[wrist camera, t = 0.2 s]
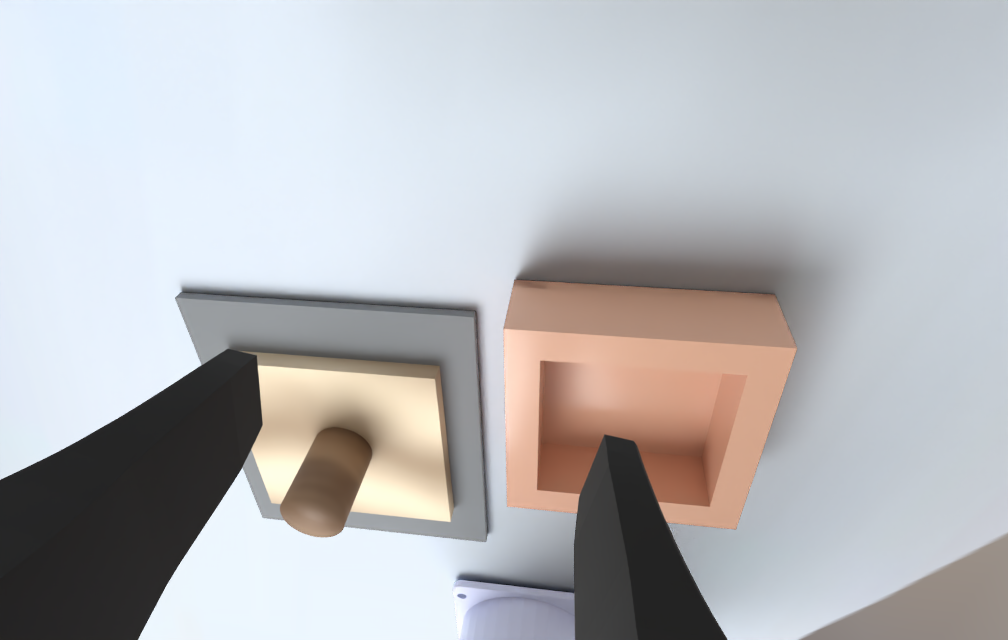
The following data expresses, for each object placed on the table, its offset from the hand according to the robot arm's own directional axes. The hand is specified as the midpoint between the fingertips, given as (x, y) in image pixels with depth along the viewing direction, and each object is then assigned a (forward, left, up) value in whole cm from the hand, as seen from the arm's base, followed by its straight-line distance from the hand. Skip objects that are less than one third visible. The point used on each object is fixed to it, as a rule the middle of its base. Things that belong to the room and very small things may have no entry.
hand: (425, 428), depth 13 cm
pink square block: (-7, -5, -10) cm, 13 cm away
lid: (-11, +7, -10) cm, 16 cm away
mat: (-11, +7, -10) cm, 16 cm away
